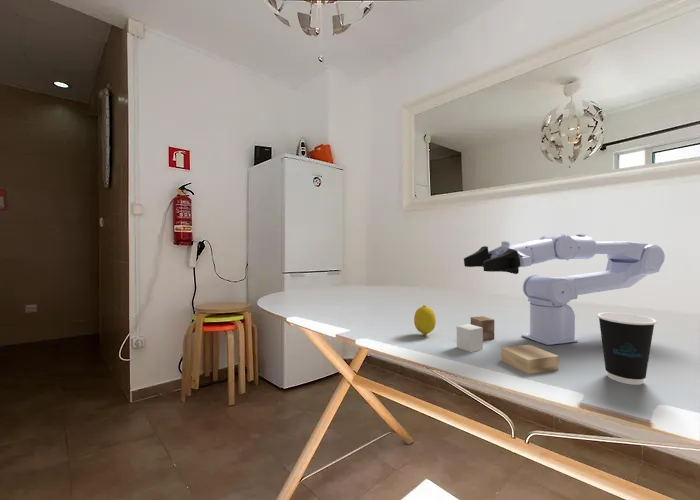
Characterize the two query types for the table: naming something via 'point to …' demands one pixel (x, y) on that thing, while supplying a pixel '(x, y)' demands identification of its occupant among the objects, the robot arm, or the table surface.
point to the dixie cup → (626, 345)
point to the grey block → (469, 337)
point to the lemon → (424, 320)
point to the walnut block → (484, 326)
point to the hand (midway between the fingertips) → (473, 264)
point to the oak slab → (530, 359)
